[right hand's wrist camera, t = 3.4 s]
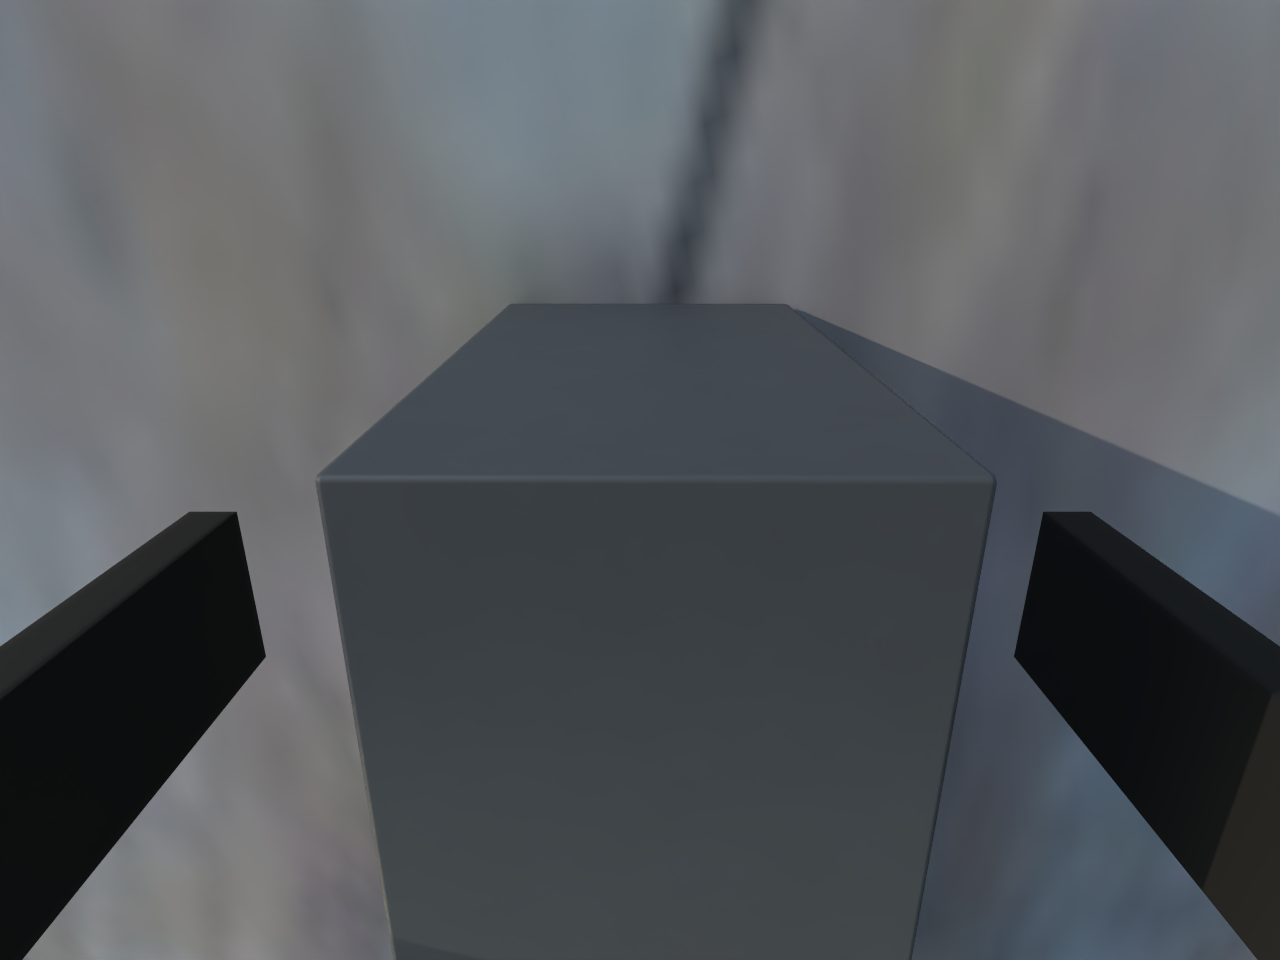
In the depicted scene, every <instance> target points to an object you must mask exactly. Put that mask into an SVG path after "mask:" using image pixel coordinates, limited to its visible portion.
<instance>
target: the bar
mask: <svg viewBox="0 0 1280 960" xmlns="http://www.w3.org/2000/svg"><path fill="white" fill-rule="evenodd" d="M316 487H317V493H318V499H319V505H320V512H321V518H322V524H323V530H324V536H325V542H326V548H327V555H328V561H329V567H330V573H331V579H332V585H333V591H334V597H335V604H336V610H337V616H338V622H339V628H340V634H341V640H342V647H343V653H344V659H345V665H346V671H347V677H348V683H349V689H350V696H351V702H352V708H353V714H354V720H355V726H356V732H357V738H358V745H359V751H360V757H361V763H362V769H363V775H364V781H365V788H366V794H367V800H368V806H369V812H370V818H371V824H372V830H373V837H374V843H375V849H376V855H377V861H378V867H379V873H380V879H381V886H382V892H383V898H384V904H385V910H386V916H387V922H388V929H389V935H390V941H391V947H392V953H393V959H394V960H911V958H912V952H913V947H914V941H915V936H916V930H917V924H918V919H919V913H920V908H921V902H922V896H923V891H924V885H925V880H926V874H927V869H928V863H929V857H930V852H931V846H932V841H933V835H934V830H935V824H936V818H937V813H938V807H939V802H940V796H941V791H942V785H943V779H944V774H945V768H946V763H947V757H948V751H949V746H950V740H951V735H952V729H953V724H954V718H955V712H956V707H957V701H958V696H959V690H960V685H961V679H962V673H963V668H964V662H965V657H966V651H967V646H968V640H969V634H970V629H971V623H972V618H973V612H974V606H975V601H976V595H977V590H978V584H979V579H980V573H981V567H982V562H983V556H984V551H985V545H986V540H987V534H988V528H989V523H990V517H991V512H992V506H993V501H994V495H995V489H996V478H995V476H994V475H993V474H992V473H991V472H989V471H988V470H987V469H986V468H985V467H983V466H982V465H981V464H980V463H979V462H977V461H976V460H975V459H974V458H972V457H971V456H970V455H969V454H968V453H966V452H965V451H964V450H963V449H962V448H960V447H959V446H958V445H957V444H956V443H954V442H953V441H952V440H951V439H949V438H948V437H947V436H946V435H945V434H943V433H942V432H941V431H940V430H939V429H937V428H936V427H935V426H934V425H932V424H931V423H930V422H929V421H928V420H926V419H925V418H924V417H923V416H922V415H920V414H919V413H918V412H917V411H916V410H914V409H913V408H912V407H911V406H909V405H908V404H907V403H906V402H905V401H903V400H902V399H901V398H900V397H899V396H897V395H896V394H895V393H894V392H893V391H891V390H890V389H889V388H888V387H886V386H885V385H884V384H883V383H882V382H880V381H879V380H878V379H877V378H876V377H874V376H873V375H872V374H871V373H869V372H868V371H867V370H866V369H865V368H863V367H862V366H861V365H860V364H859V363H857V362H856V361H855V360H854V359H853V358H851V357H850V356H849V355H848V354H846V353H845V352H844V351H843V350H842V349H840V348H839V347H838V346H837V345H836V344H834V343H833V342H832V341H831V340H830V339H828V338H827V337H826V336H825V335H823V334H822V333H821V332H820V331H819V330H817V329H816V328H815V327H814V326H813V325H811V324H810V323H809V322H808V321H806V320H805V319H804V318H803V317H802V316H800V315H799V314H798V313H797V312H796V311H794V310H793V309H792V308H791V307H790V306H788V305H786V304H510V305H508V306H507V307H506V308H505V309H504V310H503V311H502V312H501V313H499V314H498V315H497V316H496V317H495V318H494V319H493V320H492V321H490V322H489V323H488V324H487V325H486V326H485V327H484V328H483V329H481V330H480V331H479V332H478V333H477V334H476V335H475V336H474V337H472V338H471V339H470V340H469V341H468V342H467V343H466V344H465V345H463V346H462V347H461V348H460V349H459V350H458V351H457V352H455V353H454V354H453V355H452V356H451V357H450V358H449V359H448V360H446V361H445V362H444V363H443V364H442V365H441V366H440V367H439V368H437V369H436V370H435V371H434V372H433V373H432V374H431V375H430V376H428V377H427V378H426V379H425V380H424V381H423V382H422V383H421V384H419V385H418V386H417V387H416V388H415V389H414V390H413V391H412V392H410V393H409V394H408V395H407V396H406V397H405V398H404V399H402V400H401V401H400V402H399V403H398V404H397V405H396V406H395V407H393V408H392V409H391V410H390V411H389V412H388V413H387V414H386V415H384V416H383V417H382V418H381V419H380V420H379V421H378V422H377V423H375V424H374V425H373V426H372V427H371V428H370V429H369V430H368V431H366V432H365V433H364V434H363V435H362V436H361V437H360V438H359V439H357V440H356V441H355V442H354V443H353V444H352V445H351V446H349V447H348V448H347V449H346V450H345V451H344V452H343V453H342V454H340V455H339V456H338V457H337V458H336V459H335V460H334V461H333V462H331V463H330V464H329V465H328V466H327V467H326V468H325V469H324V470H322V471H321V472H320V473H319V474H318V475H317V478H316Z"/></svg>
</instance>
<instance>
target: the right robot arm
mask: <svg viewBox="0 0 1280 960" xmlns="http://www.w3.org/2000/svg"><path fill="white" fill-rule="evenodd" d="M265 657H266V655H265V650H264V645H263V640H262V635H261V630H260V625H259V620H258V615H257V610H256V605H255V600H254V595H253V590H252V586H251V581H250V576H249V571H248V566H247V561H246V556H245V551H244V546H243V541H242V536H241V531H240V526H239V521H238V516H237V512H189V513H187V514H186V515H184V516H183V517H182V518H180V519H179V520H177V521H176V522H175V523H173V524H172V525H170V526H169V527H168V528H166V529H165V530H163V531H162V532H161V533H159V534H158V535H156V536H155V537H153V538H152V539H151V540H149V541H148V542H146V543H145V544H144V545H142V546H141V547H139V548H138V549H137V550H135V551H134V552H132V553H131V554H130V555H128V556H127V557H125V558H124V559H123V560H121V561H120V562H118V563H117V564H116V565H114V566H113V567H111V568H110V569H109V570H107V571H106V572H104V573H103V574H102V575H100V576H99V577H97V578H96V579H95V580H93V581H92V582H90V583H89V584H87V585H86V586H85V587H83V588H82V589H80V590H79V591H78V592H76V593H75V594H73V595H72V596H71V597H69V598H68V599H66V600H65V601H64V602H62V603H61V604H59V605H58V606H57V607H55V608H54V609H52V610H51V611H50V612H48V613H47V614H45V615H44V616H43V617H41V618H40V619H38V620H37V621H36V622H34V623H33V624H31V625H30V626H28V627H27V628H26V629H24V630H23V631H21V632H20V633H19V634H17V635H16V636H14V637H13V638H12V639H10V640H9V641H7V642H6V643H5V644H3V645H2V646H0V960H22V959H23V958H24V957H25V956H26V954H27V953H28V952H29V951H30V949H31V948H32V947H33V946H34V944H35V943H36V942H37V941H38V939H39V938H40V937H41V936H42V935H43V933H44V932H45V931H46V930H47V928H48V927H49V926H50V925H51V923H52V922H53V921H54V920H55V918H56V917H57V916H58V915H59V913H60V912H61V911H62V910H63V908H64V907H65V906H66V905H67V903H68V902H69V901H70V900H71V898H72V897H73V896H74V895H75V893H76V892H77V891H78V890H79V888H80V887H81V886H82V885H83V883H84V882H85V881H86V880H87V879H88V877H89V876H90V875H91V874H92V872H93V871H94V870H95V869H96V867H97V866H98V865H99V864H100V862H101V861H102V860H103V859H104V857H105V856H106V855H107V854H108V852H109V851H110V850H111V849H112V847H113V846H114V845H115V844H116V842H117V841H118V840H119V839H120V837H121V836H122V835H123V834H124V832H125V831H126V830H127V829H128V828H129V826H130V825H131V824H132V823H133V821H134V820H135V819H136V818H137V816H138V815H139V814H140V813H141V811H142V810H143V809H144V808H145V806H146V805H147V804H148V803H149V801H150V800H151V799H152V798H153V796H154V795H155V794H156V793H157V791H158V790H159V789H160V788H161V786H162V785H163V784H164V783H165V781H166V780H167V779H168V778H169V776H170V775H171V774H172V773H173V772H174V770H175V769H176V768H177V767H178V765H179V764H180V763H181V762H182V760H183V759H184V758H185V757H186V755H187V754H188V753H189V752H190V750H191V749H192V748H193V747H194V745H195V744H196V743H197V742H198V740H199V739H200V738H201V737H202V735H203V734H204V733H205V732H206V730H207V729H208V728H209V727H210V725H211V724H212V723H213V722H214V721H215V719H216V718H217V717H218V716H219V714H220V713H221V712H222V711H223V709H224V708H225V707H226V706H227V704H228V703H229V702H230V701H231V699H232V698H233V697H234V696H235V694H236V693H237V692H238V691H239V689H240V688H241V687H242V686H243V684H244V683H245V682H246V681H247V679H248V678H249V677H250V676H251V674H252V673H253V672H254V671H255V670H256V668H257V667H258V666H259V665H260V663H261V662H262V661H263V660H264V658H265ZM1014 657H1015V658H1016V660H1017V661H1018V662H1019V663H1020V665H1021V666H1022V667H1023V668H1024V670H1025V671H1026V672H1027V673H1028V674H1029V676H1030V677H1031V678H1032V679H1033V681H1034V682H1035V683H1036V684H1037V686H1038V687H1039V688H1040V689H1041V691H1042V692H1043V693H1044V694H1045V696H1046V697H1047V698H1048V699H1049V701H1050V702H1051V703H1052V704H1053V706H1054V707H1055V708H1056V709H1057V711H1058V712H1059V713H1060V714H1061V716H1062V717H1063V718H1064V719H1065V721H1066V722H1067V723H1068V724H1069V725H1070V727H1071V728H1072V729H1073V730H1074V732H1075V733H1076V734H1077V735H1078V737H1079V738H1080V739H1081V740H1082V742H1083V743H1084V744H1085V745H1086V747H1087V748H1088V749H1089V750H1090V752H1091V753H1092V754H1093V755H1094V757H1095V758H1096V759H1097V760H1098V762H1099V763H1100V764H1101V765H1102V767H1103V768H1104V769H1105V770H1106V772H1107V773H1108V774H1109V775H1110V776H1111V778H1112V779H1113V780H1114V781H1115V783H1116V784H1117V785H1118V786H1119V788H1120V789H1121V790H1122V791H1123V793H1124V794H1125V795H1126V796H1127V798H1128V799H1129V800H1130V801H1131V803H1132V804H1133V805H1134V806H1135V808H1136V809H1137V810H1138V811H1139V813H1140V814H1141V815H1142V816H1143V818H1144V819H1145V820H1146V821H1147V823H1148V824H1149V825H1150V826H1151V828H1152V829H1153V830H1154V831H1155V832H1156V834H1157V835H1158V836H1159V837H1160V839H1161V840H1162V841H1163V842H1164V844H1165V845H1166V846H1167V847H1168V849H1169V850H1170V851H1171V852H1172V854H1173V855H1174V856H1175V857H1176V859H1177V860H1178V861H1179V862H1180V864H1181V865H1182V866H1183V867H1184V869H1185V870H1186V871H1187V872H1188V874H1189V875H1190V876H1191V877H1192V879H1193V880H1194V881H1195V882H1196V883H1197V885H1198V886H1199V887H1200V888H1201V890H1202V891H1203V892H1204V893H1205V895H1206V896H1207V897H1208V898H1209V900H1210V901H1211V902H1212V903H1213V905H1214V906H1215V907H1216V908H1217V910H1218V911H1219V912H1220V913H1221V915H1222V916H1223V917H1224V918H1225V920H1226V921H1227V922H1228V923H1229V925H1230V926H1231V927H1232V928H1233V930H1234V931H1235V932H1236V933H1237V935H1238V936H1239V937H1240V938H1241V939H1242V941H1243V942H1244V943H1245V944H1246V946H1247V947H1248V948H1249V949H1250V951H1251V952H1252V953H1253V954H1254V956H1255V957H1256V958H1257V959H1258V960H1280V646H1278V645H1277V644H1275V643H1274V642H1273V641H1271V640H1270V639H1268V638H1267V637H1266V636H1264V635H1263V634H1261V633H1260V632H1259V631H1257V630H1256V629H1254V628H1253V627H1252V626H1250V625H1249V624H1247V623H1246V622H1244V621H1243V620H1242V619H1240V618H1239V617H1237V616H1236V615H1235V614H1233V613H1232V612H1230V611H1229V610H1228V609H1226V608H1225V607H1223V606H1222V605H1221V604H1219V603H1218V602H1216V601H1215V600H1214V599H1212V598H1211V597H1209V596H1208V595H1207V594H1205V593H1204V592H1202V591H1201V590H1200V589H1198V588H1197V587H1195V586H1194V585H1193V584H1191V583H1190V582H1188V581H1187V580H1185V579H1184V578H1183V577H1181V576H1180V575H1178V574H1177V573H1176V572H1174V571H1173V570H1171V569H1170V568H1169V567H1167V566H1166V565H1164V564H1163V563H1162V562H1160V561H1159V560H1157V559H1156V558H1155V557H1153V556H1152V555H1150V554H1149V553H1148V552H1146V551H1145V550H1143V549H1142V548H1141V547H1139V546H1138V545H1136V544H1135V543H1134V542H1132V541H1131V540H1129V539H1128V538H1127V537H1125V536H1124V535H1122V534H1121V533H1119V532H1118V531H1117V530H1115V529H1114V528H1112V527H1111V526H1110V525H1108V524H1107V523H1105V522H1104V521H1103V520H1101V519H1100V518H1098V517H1097V516H1096V515H1094V514H1093V513H1091V512H1043V516H1042V521H1041V526H1040V531H1039V536H1038V541H1037V546H1036V551H1035V556H1034V561H1033V566H1032V571H1031V576H1030V581H1029V586H1028V590H1027V595H1026V600H1025V605H1024V610H1023V615H1022V620H1021V625H1020V630H1019V635H1018V640H1017V645H1016V650H1015V655H1014Z"/></svg>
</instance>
